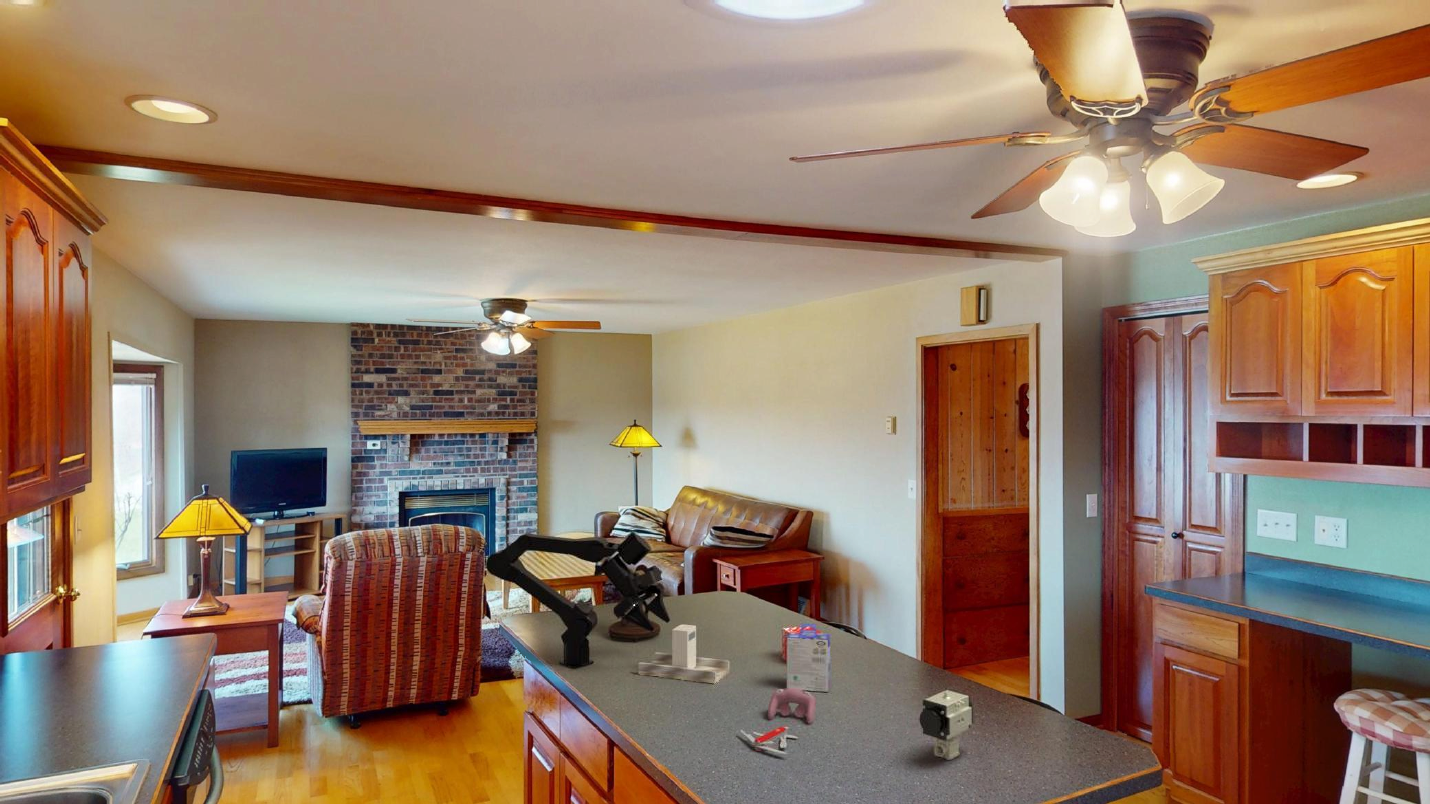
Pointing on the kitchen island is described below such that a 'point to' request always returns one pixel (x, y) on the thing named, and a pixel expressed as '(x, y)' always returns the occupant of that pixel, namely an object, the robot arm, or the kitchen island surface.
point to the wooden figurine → (631, 629)
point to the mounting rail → (686, 669)
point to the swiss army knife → (770, 739)
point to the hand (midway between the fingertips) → (661, 626)
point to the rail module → (684, 646)
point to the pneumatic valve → (946, 720)
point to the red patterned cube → (785, 634)
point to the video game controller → (792, 696)
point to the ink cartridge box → (808, 660)
